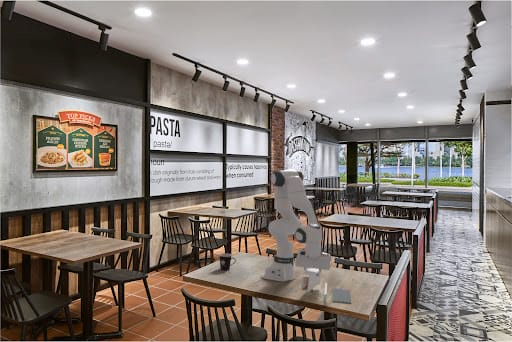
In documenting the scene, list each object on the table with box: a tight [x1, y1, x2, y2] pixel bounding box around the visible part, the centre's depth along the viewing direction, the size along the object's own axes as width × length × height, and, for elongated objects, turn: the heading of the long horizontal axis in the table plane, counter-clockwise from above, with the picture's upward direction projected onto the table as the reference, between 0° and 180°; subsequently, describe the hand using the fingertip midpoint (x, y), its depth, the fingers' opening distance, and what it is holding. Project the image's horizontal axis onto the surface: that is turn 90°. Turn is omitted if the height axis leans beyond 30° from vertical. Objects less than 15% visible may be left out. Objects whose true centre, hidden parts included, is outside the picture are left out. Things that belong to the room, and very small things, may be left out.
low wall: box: [323, 282, 328, 302], centre depth 203 cm, size 1×20×4 cm, turn 167°
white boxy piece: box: [299, 268, 323, 293], centre depth 205 cm, size 20×6×9 cm, turn 150°
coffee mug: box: [218, 253, 237, 271], centre depth 247 cm, size 12×9×10 cm
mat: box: [332, 288, 352, 304], centre depth 201 cm, size 10×20×1 cm, turn 167°
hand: (312, 275), depth 205 cm, fingers closed on white boxy piece, 5 cm apart
